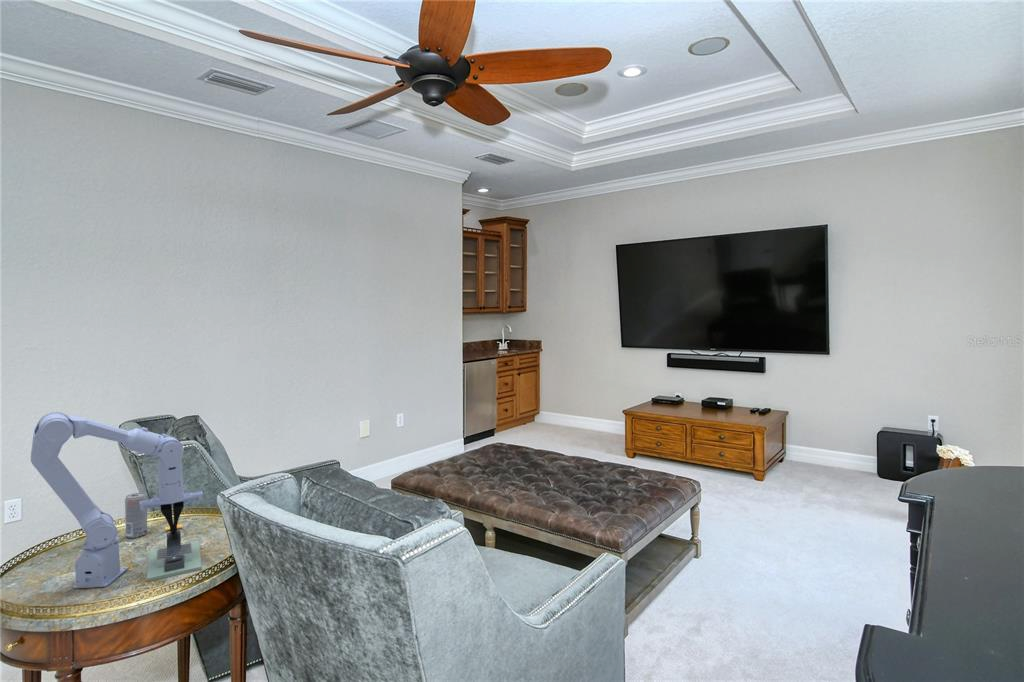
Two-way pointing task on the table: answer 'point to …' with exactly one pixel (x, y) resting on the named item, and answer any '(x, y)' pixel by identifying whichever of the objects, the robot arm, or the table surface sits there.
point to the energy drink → (135, 515)
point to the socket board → (188, 565)
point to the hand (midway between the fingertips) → (173, 529)
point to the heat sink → (185, 553)
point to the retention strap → (173, 544)
